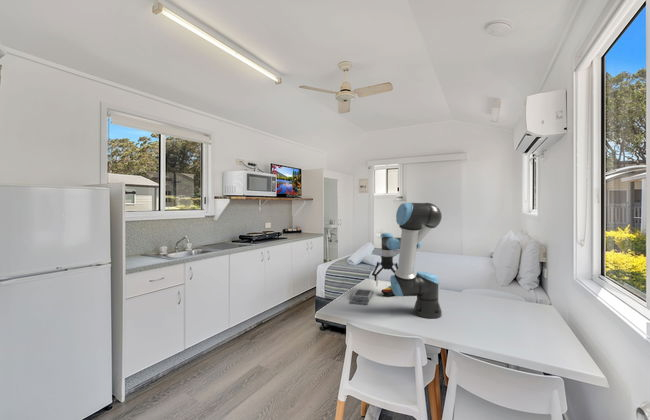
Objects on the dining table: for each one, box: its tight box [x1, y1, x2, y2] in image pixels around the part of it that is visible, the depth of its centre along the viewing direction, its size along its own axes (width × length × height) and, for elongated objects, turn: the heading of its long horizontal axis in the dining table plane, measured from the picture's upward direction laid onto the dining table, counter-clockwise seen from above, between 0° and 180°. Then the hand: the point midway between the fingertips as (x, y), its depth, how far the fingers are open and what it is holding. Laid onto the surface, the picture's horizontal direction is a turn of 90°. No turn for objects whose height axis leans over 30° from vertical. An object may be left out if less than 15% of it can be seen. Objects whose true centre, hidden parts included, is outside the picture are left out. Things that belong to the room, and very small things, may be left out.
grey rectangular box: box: [349, 288, 374, 306], centre depth 190 cm, size 28×11×3 cm, turn 162°
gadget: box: [380, 285, 395, 297], centre depth 195 cm, size 6×13×6 cm, turn 107°
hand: (387, 286), depth 194 cm, fingers open, 13 cm apart
